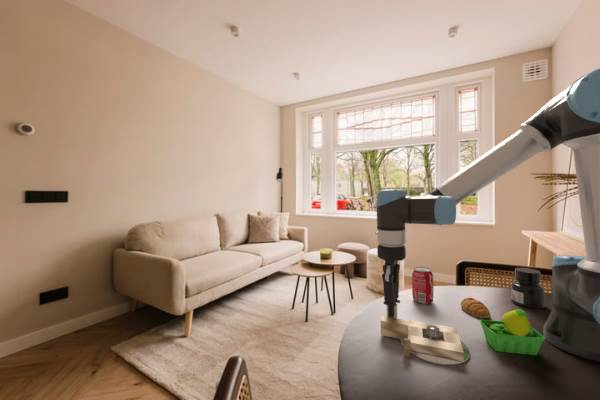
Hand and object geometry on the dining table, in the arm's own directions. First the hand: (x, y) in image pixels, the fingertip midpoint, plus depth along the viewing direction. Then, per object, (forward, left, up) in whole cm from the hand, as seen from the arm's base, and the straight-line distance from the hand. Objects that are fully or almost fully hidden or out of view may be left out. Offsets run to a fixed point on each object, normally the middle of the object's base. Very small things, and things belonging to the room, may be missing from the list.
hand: (392, 326), depth 75 cm
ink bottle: (-22, -52, -2) cm, 57 cm away
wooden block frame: (-7, -1, -1) cm, 7 cm away
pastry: (-12, -32, -3) cm, 35 cm away
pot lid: (-10, -2, -2) cm, 11 cm away
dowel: (-8, +7, -2) cm, 11 cm away
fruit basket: (-24, -15, -2) cm, 29 cm away
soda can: (+4, -28, -2) cm, 29 cm away
